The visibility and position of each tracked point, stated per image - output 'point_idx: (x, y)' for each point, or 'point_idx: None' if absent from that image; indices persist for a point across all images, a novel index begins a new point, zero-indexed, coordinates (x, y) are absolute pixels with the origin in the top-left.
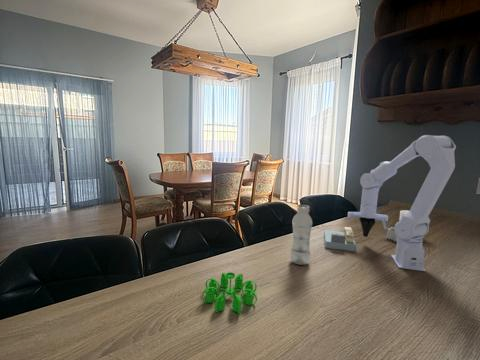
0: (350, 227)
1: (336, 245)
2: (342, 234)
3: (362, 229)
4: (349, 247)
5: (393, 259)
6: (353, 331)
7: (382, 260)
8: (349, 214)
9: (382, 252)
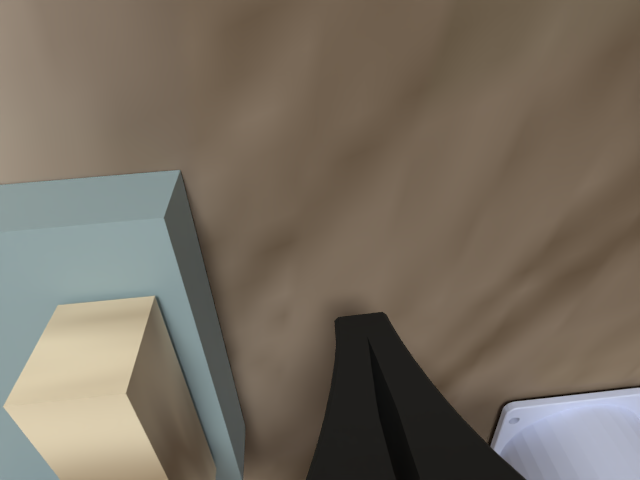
0: (117, 395)
1: None
2: (48, 319)
3: (332, 381)
4: None
5: (491, 445)
6: None
7: None
8: None
9: (464, 369)
